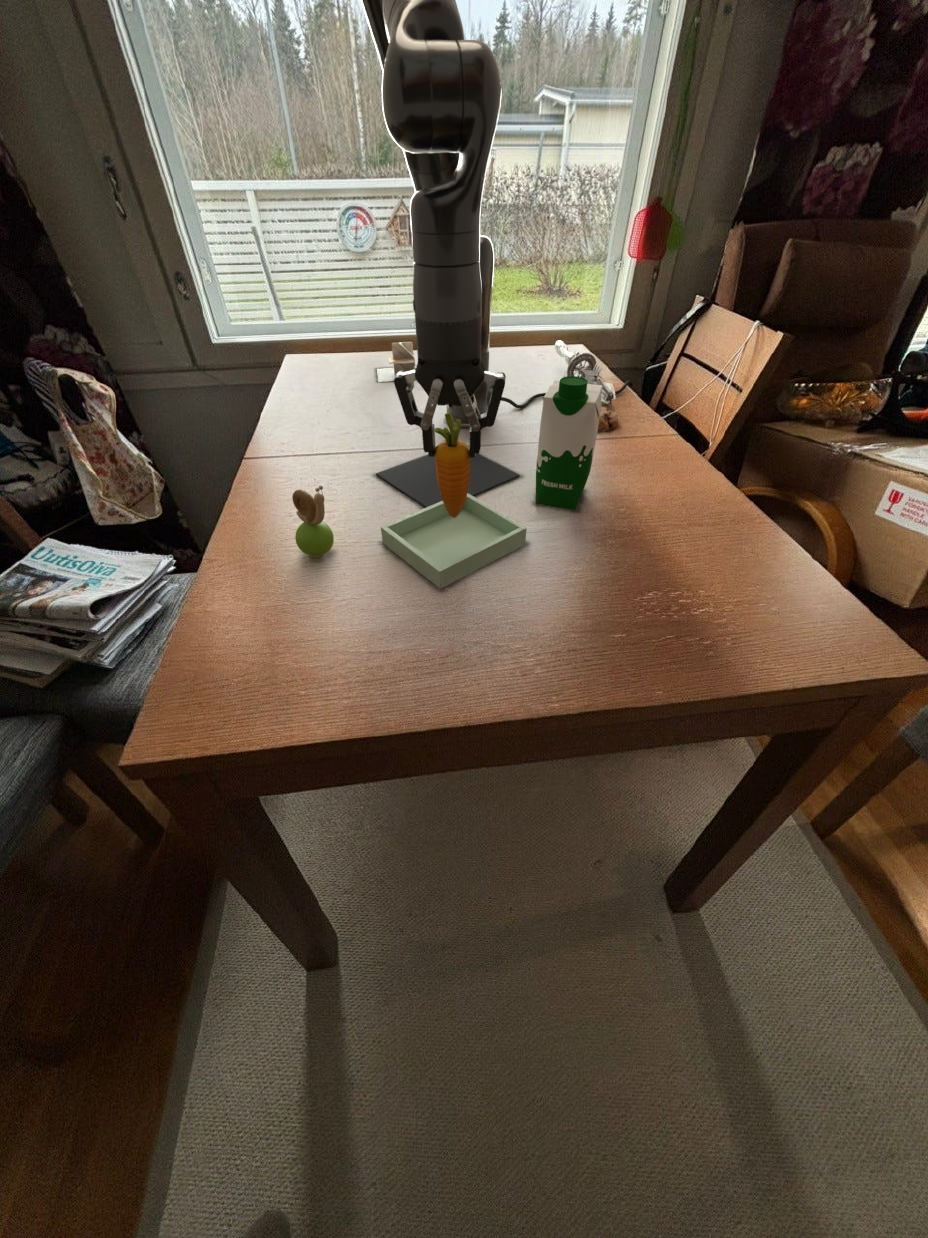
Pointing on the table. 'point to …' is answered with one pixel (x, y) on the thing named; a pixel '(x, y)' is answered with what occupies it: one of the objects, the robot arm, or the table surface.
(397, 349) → the architectural model
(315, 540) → the snail figurine
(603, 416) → the cookie
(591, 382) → the spaceship
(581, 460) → the milk carton
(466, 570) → the tray
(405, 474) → the mat
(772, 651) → the table surface
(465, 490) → the carrot
